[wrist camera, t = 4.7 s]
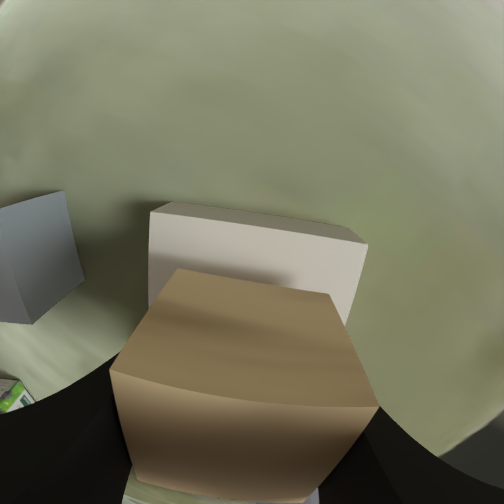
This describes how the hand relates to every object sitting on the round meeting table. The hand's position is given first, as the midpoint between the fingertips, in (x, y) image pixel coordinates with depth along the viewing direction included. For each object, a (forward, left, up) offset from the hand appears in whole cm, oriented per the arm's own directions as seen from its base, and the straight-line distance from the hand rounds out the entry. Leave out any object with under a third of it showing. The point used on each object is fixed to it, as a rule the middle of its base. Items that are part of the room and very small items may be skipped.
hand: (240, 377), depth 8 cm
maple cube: (0, 0, -2) cm, 2 cm away
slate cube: (+1, +12, -6) cm, 13 cm away
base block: (0, 0, -6) cm, 6 cm away
